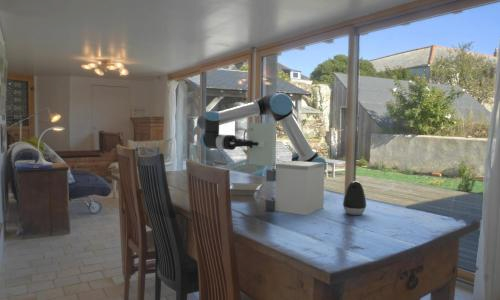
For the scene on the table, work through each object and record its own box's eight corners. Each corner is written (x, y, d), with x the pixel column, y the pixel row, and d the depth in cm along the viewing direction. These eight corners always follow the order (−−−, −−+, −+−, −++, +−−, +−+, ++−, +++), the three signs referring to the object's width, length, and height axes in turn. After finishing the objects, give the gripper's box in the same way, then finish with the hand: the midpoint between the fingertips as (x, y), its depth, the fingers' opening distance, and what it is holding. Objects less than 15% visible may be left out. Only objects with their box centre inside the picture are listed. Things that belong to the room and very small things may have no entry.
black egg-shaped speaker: (340, 214, 176) (341, 181, 175) (345, 210, 185) (346, 178, 184) (363, 217, 171) (364, 183, 170) (367, 213, 180) (369, 180, 179)
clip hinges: (272, 207, 188) (273, 168, 187) (279, 208, 186) (280, 169, 185) (265, 210, 183) (266, 170, 181) (272, 211, 181) (273, 170, 179)
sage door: (252, 163, 191) (252, 122, 190) (275, 165, 184) (276, 123, 183) (247, 164, 188) (248, 122, 186) (270, 166, 181) (271, 123, 179)
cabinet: (293, 203, 199) (294, 160, 197) (323, 207, 190) (324, 162, 189) (274, 210, 182) (275, 163, 181) (306, 215, 173) (307, 166, 172)
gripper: (235, 148, 204) (274, 151, 191) (217, 150, 191) (257, 152, 178) (236, 134, 204) (275, 135, 191) (217, 135, 190) (258, 136, 177)
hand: (266, 144), depth 184 cm, fingers closed on sage door, 3 cm apart
